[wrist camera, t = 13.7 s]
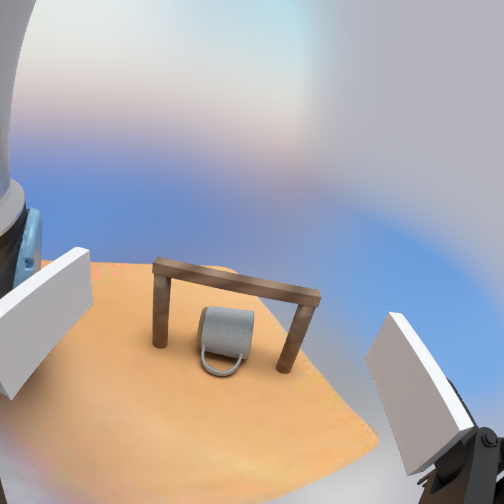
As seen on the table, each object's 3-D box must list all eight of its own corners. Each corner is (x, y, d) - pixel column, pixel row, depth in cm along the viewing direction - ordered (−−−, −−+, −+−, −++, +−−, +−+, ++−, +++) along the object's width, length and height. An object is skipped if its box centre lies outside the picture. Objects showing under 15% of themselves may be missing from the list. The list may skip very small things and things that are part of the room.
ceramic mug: (200, 330, 46) (206, 293, 43) (247, 338, 46) (256, 302, 43) (190, 373, 36) (194, 334, 33) (245, 383, 36) (257, 346, 34)
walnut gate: (150, 345, 39) (152, 263, 34) (155, 336, 41) (158, 256, 36) (291, 374, 39) (321, 297, 34) (290, 364, 42) (318, 289, 37)
